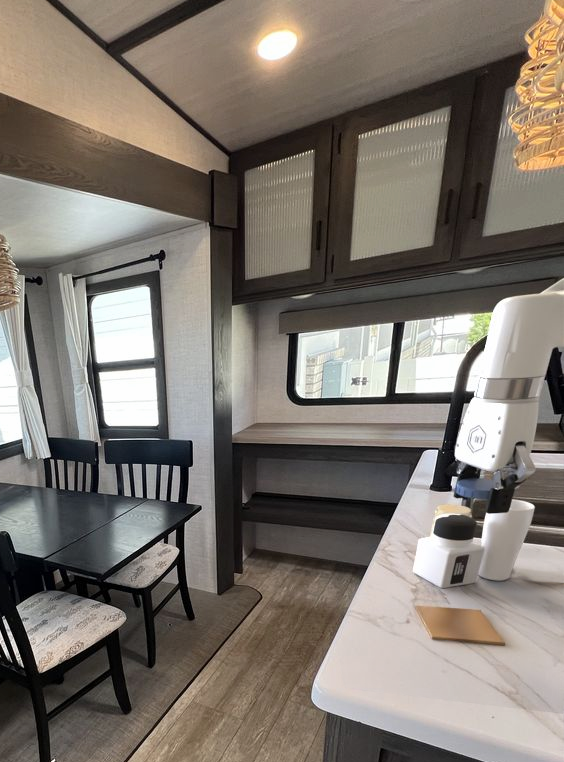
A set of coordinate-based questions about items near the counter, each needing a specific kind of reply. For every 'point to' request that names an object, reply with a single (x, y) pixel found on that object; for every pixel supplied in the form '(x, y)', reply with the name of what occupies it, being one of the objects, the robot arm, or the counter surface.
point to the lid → (475, 488)
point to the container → (449, 552)
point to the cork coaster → (458, 625)
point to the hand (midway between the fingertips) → (479, 503)
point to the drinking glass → (504, 539)
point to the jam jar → (450, 512)
